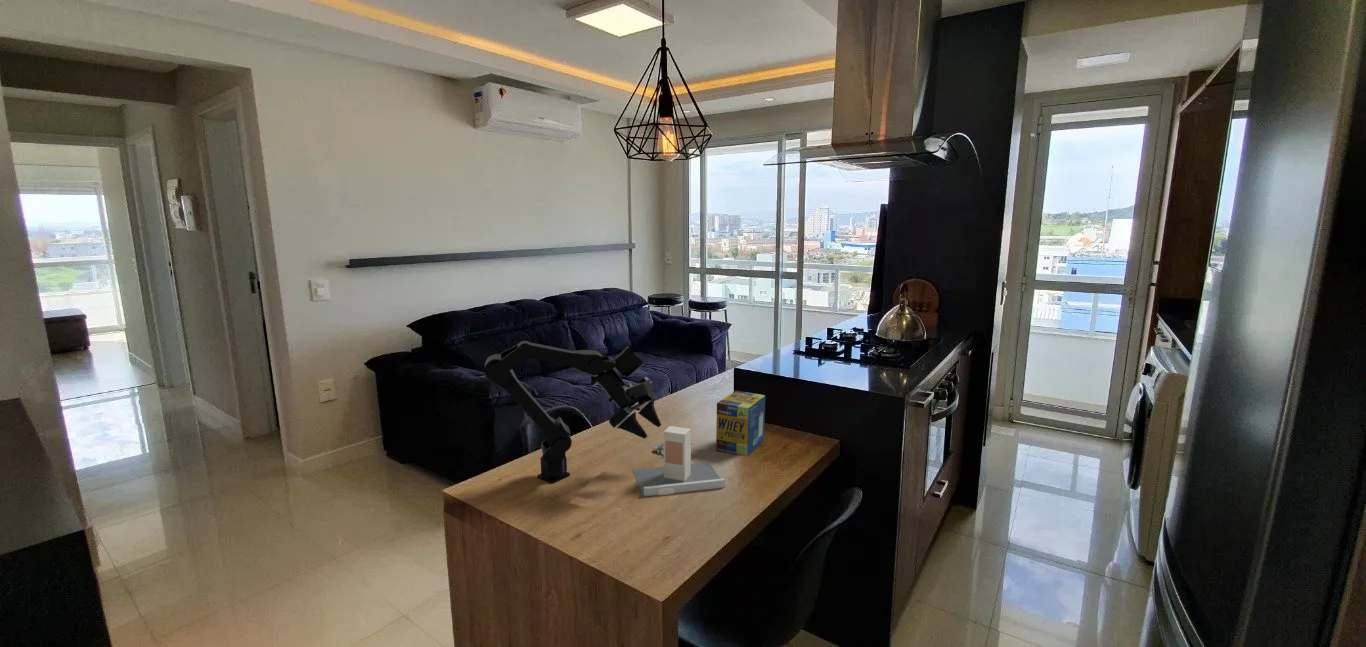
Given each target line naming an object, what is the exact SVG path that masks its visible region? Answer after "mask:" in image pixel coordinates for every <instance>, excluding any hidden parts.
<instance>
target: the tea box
mask: <svg viewBox="0 0 1366 647" xmlns="http://www.w3.org/2000/svg"><path fill="white" fill-rule="evenodd" d="M691 434H692V429H691V428H688V427H680V426H673V425H670V426H668V427H667V428H666V429H665V430H664V431H663V443H664V450H663V452H664V455H663V467H664V478H669V479H675V480H681V481H685V480H686V479H687V478H688V477H689V476H690V474H691V464H692V462H691V460H692V458H691V454H692V453H691V450H692V447H691V446H692V445H691V444H692V439H691V438H692V435H691Z"/></svg>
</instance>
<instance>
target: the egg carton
mask: <svg viewBox="0 0 1366 647" xmlns="http://www.w3.org/2000/svg"><path fill="white" fill-rule="evenodd" d="M691 446H692V443H691ZM653 450H654V451H656V453H657V454H659V455H662V456H664V442H662V443H660V444H656V445H655V446H654V448H653Z"/></svg>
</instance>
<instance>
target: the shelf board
mask: <svg viewBox="0 0 1366 647" xmlns="http://www.w3.org/2000/svg"><path fill="white" fill-rule="evenodd" d="M632 472H633V475H634V477H635V479H636V482H637V485H638V488H639V491H640V494H641V496H642V497H652V496H665V495H674V494H678V493H687V492H697V491H704V490H705V491H706V490H714V489H721V488H727V486H726V485H725V482H726V481H725V478H720V476H719V474H718V473H717V472H716V470H715V469H714V467H713V466H712V465H711V462H709V461H708V462H698V463H691V474H690V476H689V477H688V478H687V479H686V480H685V481H681V480H675V479H669V478H664V466H659V467H651V468H650V467H649V468H648V467H646V468H638V469H632Z"/></svg>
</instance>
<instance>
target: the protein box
mask: <svg viewBox="0 0 1366 647" xmlns="http://www.w3.org/2000/svg"><path fill="white" fill-rule="evenodd" d="M765 417H766V395H764V394H759V393H753V392H747V391H741V390H734V391H733V392H732V393H730V394H728V395H727V396H725V397H724V398H723V399H721V400H719V401H718V402H717V403H716V426H715V427H716V435H715V438H716V441H715V442H716V443H715V444H716V445H715V446H716V447H715V448H716V452H721V453H726V454H730V455H735V456H736V455H737V456H744V457H749V456H750V455H751V454H752V453H753V452H754V451H755V450H756V449H757V448H758V447H760V445H761V444H762V443H763V442H765V422H766V421H765Z"/></svg>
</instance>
